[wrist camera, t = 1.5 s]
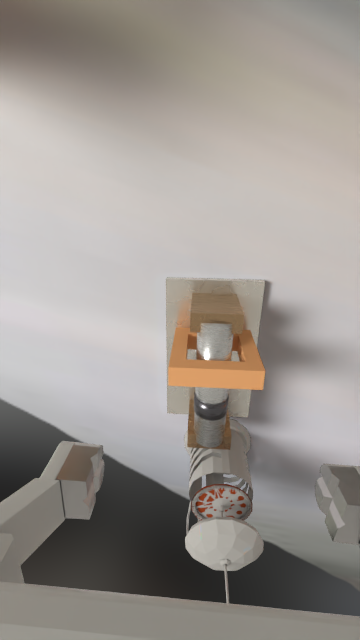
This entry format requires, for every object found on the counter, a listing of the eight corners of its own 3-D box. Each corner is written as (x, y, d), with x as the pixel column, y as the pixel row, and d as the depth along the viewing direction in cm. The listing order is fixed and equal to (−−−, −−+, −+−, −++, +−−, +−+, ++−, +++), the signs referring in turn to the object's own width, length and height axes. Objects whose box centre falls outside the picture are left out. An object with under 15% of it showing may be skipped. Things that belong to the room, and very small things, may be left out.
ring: (250, 329, 34) (265, 371, 26) (248, 345, 34) (262, 390, 26) (175, 327, 34) (168, 367, 26) (175, 342, 35) (168, 385, 27)
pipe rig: (263, 279, 33) (281, 303, 26) (247, 413, 40) (257, 460, 33) (166, 277, 34) (157, 300, 26) (168, 409, 41) (161, 455, 34)
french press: (264, 435, 42) (343, 727, 19) (220, 482, 46) (240, 766, 23) (206, 405, 40) (213, 682, 17) (166, 456, 45) (130, 732, 22)
